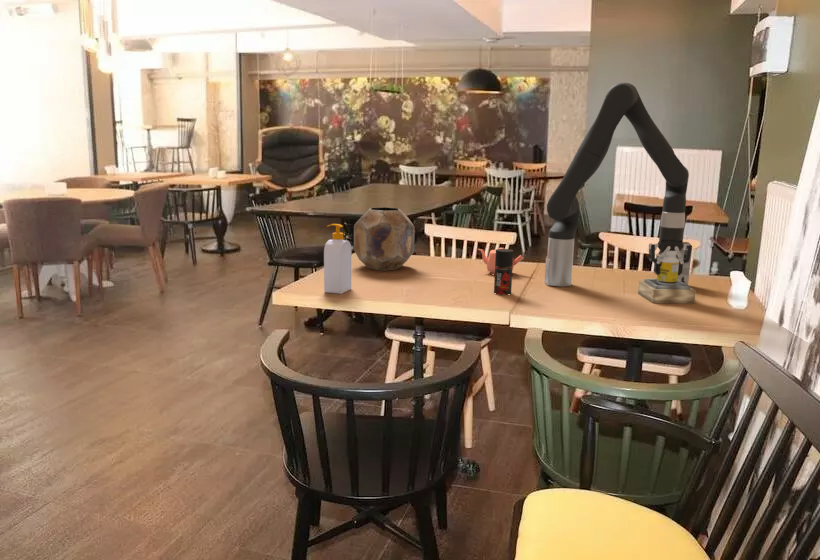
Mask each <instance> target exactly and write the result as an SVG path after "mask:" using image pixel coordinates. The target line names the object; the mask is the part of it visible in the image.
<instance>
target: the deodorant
mask: <svg viewBox="0 0 820 560" xmlns="http://www.w3.org/2000/svg"><path fill="white" fill-rule="evenodd" d="M495 250H496V257H495V275H494V283H493V285H494V286H493V294H494V293H496V294H495V295H497V294H500V295H499V296H509V295H508V294H510V295H511V294H512V288H513V287H512V285H513V270H512V267H513V261H514V250H513V249H510V248H509V249H508V248H504V249H498V248H497V249H495ZM513 268H514V267H513Z"/></svg>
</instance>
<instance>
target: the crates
mask: <svg viewBox="0 0 820 560" xmlns="http://www.w3.org/2000/svg"><path fill="white" fill-rule="evenodd" d="M637 288H638V289H637V294H638V295H639V296H641V297H643V298H644V299H646V300H647V301H648V302H650V303H652V304H691V305H692V304H695V302H696V301H695V300H696V292H697V290H696V289H695V288H692V287H691V285H689V284H688V285H687V284H685V283H683V282H681V281H679V280H677V284H676V285H662V284H659V283H657V278H644V279H643V280H639V281H638V287H637Z"/></svg>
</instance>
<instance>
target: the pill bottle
mask: <svg viewBox="0 0 820 560" xmlns="http://www.w3.org/2000/svg"><path fill="white" fill-rule="evenodd" d="M676 255H677V251H667V254H666V255H665V257H664V258H663V259H662V260H661V262H660V263H659V264H660V273H659V275H656V279H657V283H659V284H662V285H676V284H677V277H678V268H679V259H678V258H677V257H676Z"/></svg>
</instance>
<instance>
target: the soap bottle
mask: <svg viewBox="0 0 820 560" xmlns="http://www.w3.org/2000/svg"><path fill="white" fill-rule="evenodd" d="M330 226H335V232H332V238H331V239H328V240H327V241H326V242H325V244H324V249H323V289H324V291H323V292H324V293H327V294H328V293H329V294H340V295H342V294H343V293H346V292H348V291H350V290H351V289H352V245H351V242H350V241H349V240H344V232H341V230H340V229H341V228H343V227H344V225H342V224H340V223H330V224H328V225H326V227H327V228H328V227H330Z"/></svg>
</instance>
